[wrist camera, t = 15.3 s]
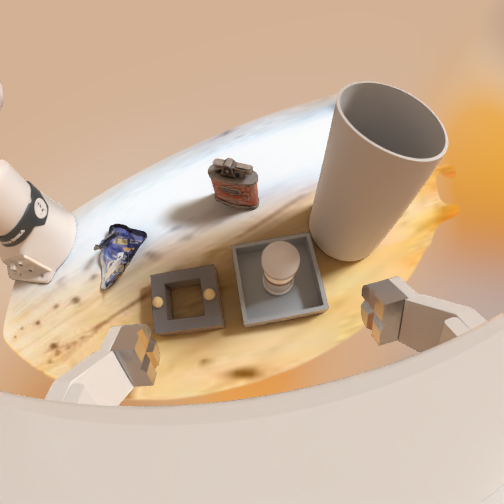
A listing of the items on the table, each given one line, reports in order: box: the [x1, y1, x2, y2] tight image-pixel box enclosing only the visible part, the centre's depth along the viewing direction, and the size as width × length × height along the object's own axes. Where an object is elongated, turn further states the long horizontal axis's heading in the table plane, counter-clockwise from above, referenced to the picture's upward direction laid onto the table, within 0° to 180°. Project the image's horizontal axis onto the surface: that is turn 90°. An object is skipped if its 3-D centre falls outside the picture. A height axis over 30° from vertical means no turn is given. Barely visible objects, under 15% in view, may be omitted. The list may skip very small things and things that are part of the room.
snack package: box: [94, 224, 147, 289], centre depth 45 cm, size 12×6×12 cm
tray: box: [231, 232, 329, 328], centre depth 42 cm, size 12×12×3 cm
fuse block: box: [150, 265, 225, 336], centre depth 41 cm, size 10×9×4 cm
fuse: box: [262, 241, 300, 296], centre depth 38 cm, size 5×5×10 cm
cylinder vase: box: [309, 81, 448, 261], centre depth 35 cm, size 12×12×25 cm
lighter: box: [208, 158, 259, 210], centre depth 45 cm, size 8×3×10 cm, turn 71°
